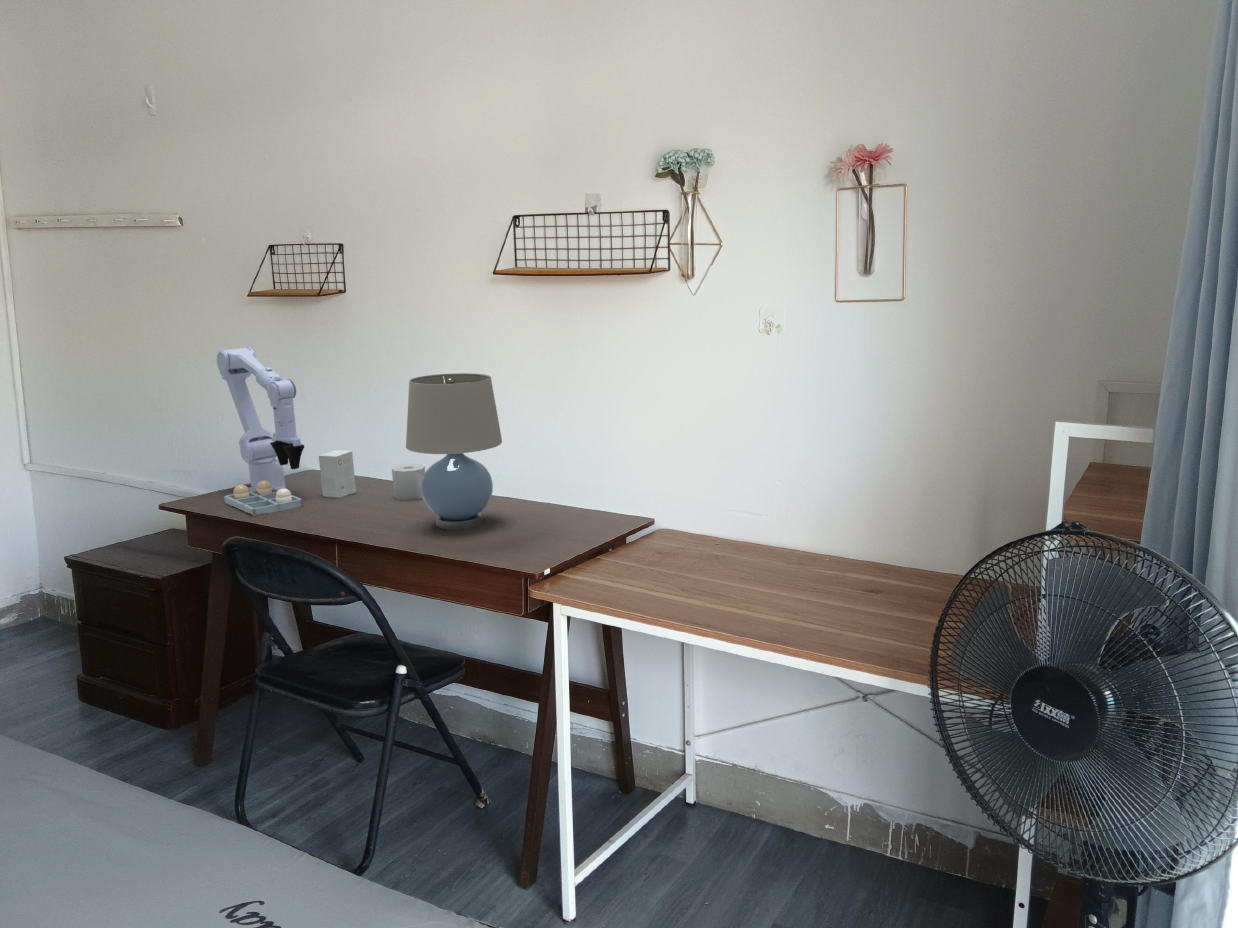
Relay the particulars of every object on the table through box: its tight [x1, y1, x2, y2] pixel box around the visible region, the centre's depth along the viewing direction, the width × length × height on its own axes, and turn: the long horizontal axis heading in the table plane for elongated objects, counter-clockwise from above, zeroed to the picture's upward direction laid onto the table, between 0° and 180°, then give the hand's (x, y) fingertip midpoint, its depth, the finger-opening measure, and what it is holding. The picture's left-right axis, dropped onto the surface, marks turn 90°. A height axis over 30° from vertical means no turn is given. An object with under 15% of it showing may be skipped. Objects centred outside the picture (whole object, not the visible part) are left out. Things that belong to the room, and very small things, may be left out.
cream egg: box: [276, 487, 292, 504], centre depth 266 cm, size 4×4×5 cm
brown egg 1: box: [232, 484, 250, 500], centre depth 271 cm, size 4×4×5 cm
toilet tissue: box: [391, 463, 426, 501], centre depth 277 cm, size 9×13×9 cm
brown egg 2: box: [257, 480, 272, 495], centre depth 276 cm, size 4×4×5 cm
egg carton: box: [223, 487, 305, 514], centre depth 269 cm, size 14×21×2 cm
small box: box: [318, 449, 357, 499], centre depth 278 cm, size 8×6×13 cm
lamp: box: [405, 372, 503, 531], centre depth 243 cm, size 25×25×39 cm
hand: (289, 466), depth 276 cm, fingers open, 7 cm apart
